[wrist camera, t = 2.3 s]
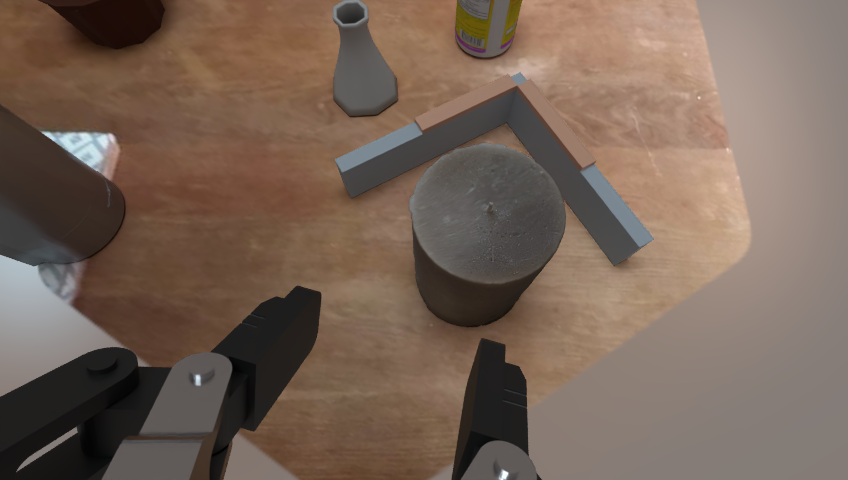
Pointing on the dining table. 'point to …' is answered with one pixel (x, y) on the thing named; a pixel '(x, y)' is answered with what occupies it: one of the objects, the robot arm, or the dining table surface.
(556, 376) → the dining table surface
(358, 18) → the flask
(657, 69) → the dining table surface
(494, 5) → the supplement bottle
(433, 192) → the pillar candle
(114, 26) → the muffin
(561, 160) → the corner arena
